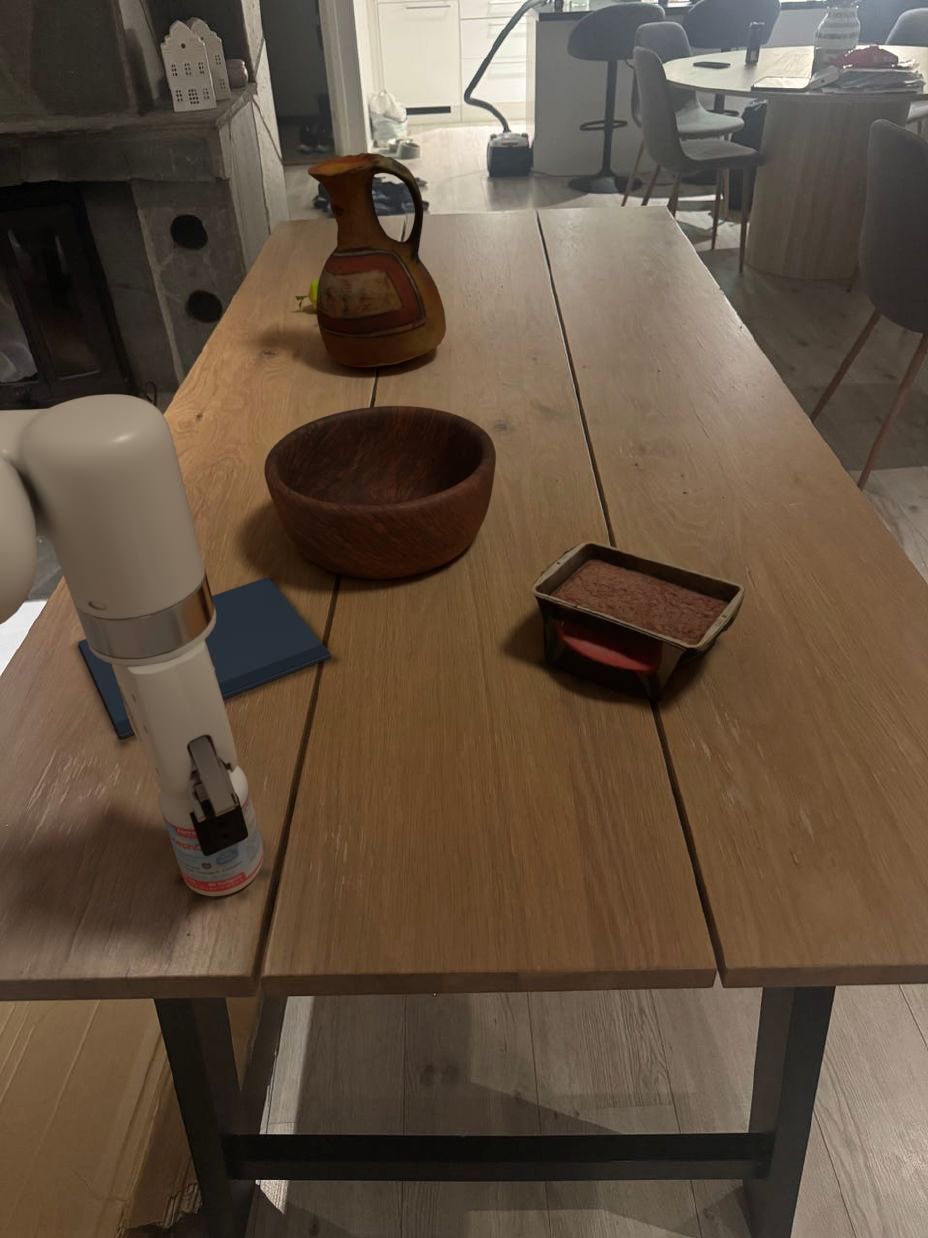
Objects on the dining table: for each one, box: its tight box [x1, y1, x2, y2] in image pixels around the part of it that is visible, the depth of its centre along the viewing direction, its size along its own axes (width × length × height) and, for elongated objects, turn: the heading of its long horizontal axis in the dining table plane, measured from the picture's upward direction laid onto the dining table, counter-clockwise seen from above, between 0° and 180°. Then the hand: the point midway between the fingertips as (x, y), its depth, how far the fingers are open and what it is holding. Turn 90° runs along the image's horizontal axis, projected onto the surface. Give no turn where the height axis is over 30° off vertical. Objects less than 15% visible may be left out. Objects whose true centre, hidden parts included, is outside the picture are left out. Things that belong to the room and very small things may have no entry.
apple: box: [294, 277, 320, 311], centre depth 168 cm, size 7×6×9 cm
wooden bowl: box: [263, 405, 497, 580], centre depth 103 cm, size 25×25×10 cm
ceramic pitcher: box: [307, 152, 447, 368], centre depth 141 cm, size 20×20×30 cm
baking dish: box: [530, 541, 746, 703], centre depth 85 cm, size 14×18×10 cm
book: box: [78, 576, 332, 740], centre depth 90 cm, size 20×16×1 cm
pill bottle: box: [158, 764, 264, 897], centre depth 66 cm, size 6×6×11 cm
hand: (208, 811), depth 65 cm, fingers closed on pill bottle, 6 cm apart
